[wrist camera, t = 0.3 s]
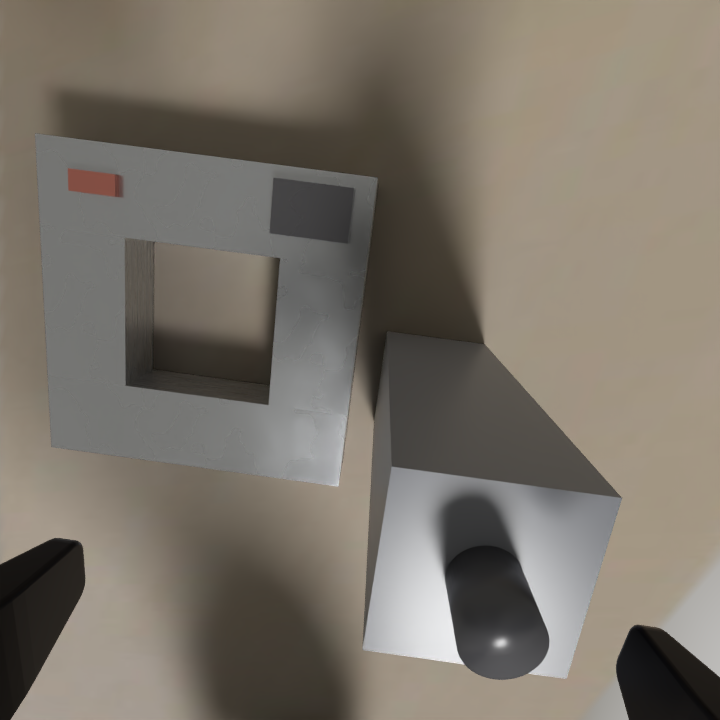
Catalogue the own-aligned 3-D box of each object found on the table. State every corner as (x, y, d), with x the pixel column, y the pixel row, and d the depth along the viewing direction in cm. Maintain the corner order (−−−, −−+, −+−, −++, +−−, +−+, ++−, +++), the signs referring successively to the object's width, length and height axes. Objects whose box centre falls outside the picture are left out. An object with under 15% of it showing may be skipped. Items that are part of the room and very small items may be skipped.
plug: (466, 434, 23) (598, 756, 9) (374, 421, 23) (358, 721, 9) (484, 344, 22) (669, 551, 8) (387, 331, 22) (393, 513, 8)
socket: (343, 460, 24) (337, 491, 21) (85, 425, 24) (45, 450, 21) (378, 183, 20) (377, 176, 17) (76, 144, 20) (27, 131, 18)
